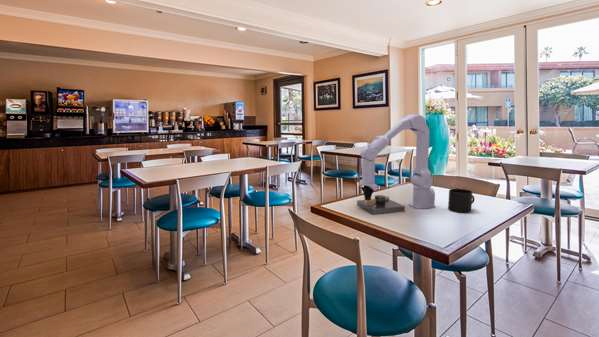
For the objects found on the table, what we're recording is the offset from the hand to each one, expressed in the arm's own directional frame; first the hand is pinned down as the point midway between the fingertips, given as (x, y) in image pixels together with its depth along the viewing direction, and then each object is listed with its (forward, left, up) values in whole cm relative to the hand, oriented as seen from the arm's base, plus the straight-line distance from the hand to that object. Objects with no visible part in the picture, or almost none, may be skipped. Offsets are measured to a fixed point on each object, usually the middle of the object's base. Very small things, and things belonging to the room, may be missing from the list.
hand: (367, 201), depth 149 cm
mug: (-40, +14, -4) cm, 43 cm away
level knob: (-4, +1, -1) cm, 4 cm away
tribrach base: (-6, 0, -4) cm, 7 cm away
